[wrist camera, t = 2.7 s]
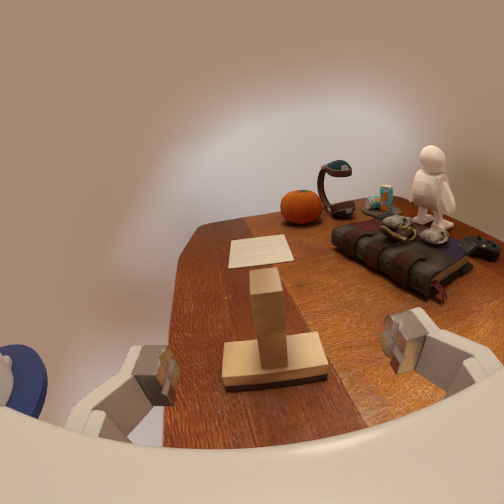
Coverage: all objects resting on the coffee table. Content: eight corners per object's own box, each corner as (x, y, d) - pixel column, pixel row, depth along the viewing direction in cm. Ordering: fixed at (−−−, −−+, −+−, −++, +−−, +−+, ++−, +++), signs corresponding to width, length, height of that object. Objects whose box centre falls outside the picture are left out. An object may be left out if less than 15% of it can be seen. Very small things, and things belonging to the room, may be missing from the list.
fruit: (291, 231, 64) (288, 198, 61) (276, 220, 73) (273, 191, 70) (330, 223, 66) (329, 192, 63) (312, 213, 75) (310, 185, 72)
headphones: (377, 221, 60) (331, 209, 80) (372, 158, 55) (325, 160, 76) (357, 226, 59) (313, 213, 79) (351, 159, 54) (307, 162, 75)
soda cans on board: (374, 219, 65) (374, 189, 62) (354, 208, 76) (354, 181, 73) (409, 215, 65) (410, 187, 62) (387, 204, 76) (387, 179, 73)
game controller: (499, 247, 39) (505, 235, 35) (497, 271, 38) (503, 260, 34) (463, 239, 45) (465, 226, 41) (459, 261, 44) (462, 250, 40)
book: (327, 248, 53) (326, 212, 50) (388, 230, 57) (389, 199, 55) (433, 313, 29) (445, 264, 26) (483, 273, 34) (492, 234, 31)
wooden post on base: (226, 392, 24) (200, 303, 20) (228, 358, 29) (207, 272, 25) (327, 380, 24) (333, 286, 20) (317, 347, 29) (317, 259, 24)
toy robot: (459, 228, 53) (463, 148, 45) (444, 236, 50) (449, 148, 42) (418, 214, 65) (419, 143, 57) (401, 220, 62) (401, 142, 54)
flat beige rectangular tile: (228, 269, 50) (228, 268, 50) (231, 241, 62) (231, 240, 62) (294, 261, 49) (294, 259, 49) (283, 235, 62) (283, 234, 62)
